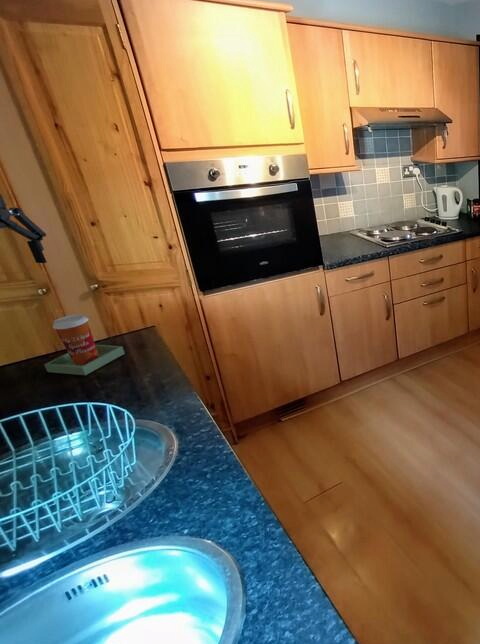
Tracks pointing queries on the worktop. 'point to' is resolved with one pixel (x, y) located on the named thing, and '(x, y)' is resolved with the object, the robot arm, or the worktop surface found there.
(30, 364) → the worktop surface
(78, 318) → the paper cup
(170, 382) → the worktop surface
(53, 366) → the tray
